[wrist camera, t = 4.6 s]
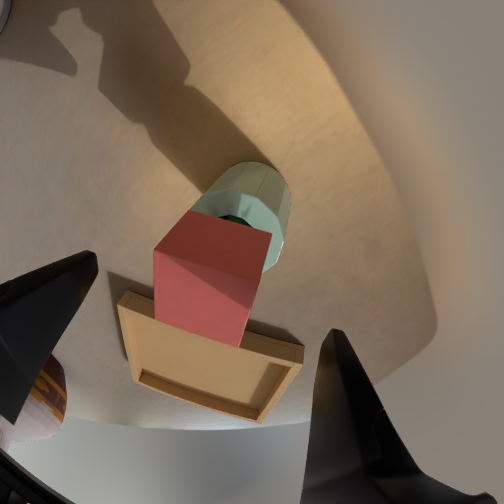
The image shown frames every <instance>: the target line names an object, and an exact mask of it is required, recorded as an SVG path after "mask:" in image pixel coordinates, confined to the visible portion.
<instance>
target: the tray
mask: <svg viewBox="0 0 504 504" xmlns="http://www.w3.org/2000/svg"><path fill="white" fill-rule="evenodd" d="M117 308H118V314H119V319H120V325H121V330H122V335H123V340H124V344H125V349H126V353H127V358H128V362H129V366H130V370H131V374H132V378H133V381H134V382H136V383H138V384H140V385H143V386H145V387H147V388H150V389H152V390H155V391H157V392H160V393H162V394H165V395H168V396H170V397H173V398H176V399H178V400H181V401H184V402H187V403H190V404H193V405H196V406H199V407H202V408H205V409H208V410H211V411H215V412H218V413H221V414H225V415H228V416H232V417H236V418H240V419H243V420H247V421H251V422H256V423H260V424H261V423H262V422H263V420H264V419H265V418H266V416H267V415H268V414H269V412H270V411H271V410H272V408H273V407H274V406H275V404H276V403H277V402H278V400H279V399H280V397H281V396H282V395H283V393H284V392H285V390H286V389H287V387H288V386H289V385H290V383H291V382H292V380H293V379H294V377H295V376H296V374H297V373H298V371H299V370H300V368H301V367H302V365H303V360H304V350H305V346H301V345H297V344H293V343H289V342H285V341H282V340H278V339H274V338H270V337H267V336H263V335H260V334H256V333H253V332H249V331H246V330H244V333H243V336H242V339H241V342H240V346H239V347H238V348H237V347H233V346H230V345H227V344H223V343H220V342H217V341H214V340H211V339H208V338H205V337H202V336H199V335H196V334H193V333H190V332H187V331H184V330H181V329H178V328H175V327H173V326H170V325H167V324H164V323H162V322H159V321H156V320H155V311H154V300H152V299H149V298H147V297H144V296H141V295H139V294H136V293H133V292H131V291H128V290H127V291H126V293H125V294H124V295H123V297H122V298H121V299H120V301H119V302H118V303H117Z"/></svg>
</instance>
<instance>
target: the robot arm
mask: <svg viewBox="0 0 504 504" xmlns="http://www.w3.org/2000/svg"><path fill="white" fill-rule="evenodd" d="M97 275H98V263H97V256H96V254H95V253H94V252H91V251H89V250H85V251H82V252H80V253H77V254H74V255H72V256H69V257H67V258H64V259H61V260H59V261H56V262H54V263H51V264H49V265H46V266H43V267H41V268H38V269H36V270H34V271H31V272H29V273H26V274H24V275H21V276H19V277H17V278H14V279H13V280H10V281H7V282H5V283H3V284H0V415H1V416H2V417H4V418H5V419H6V420H7V421H8V422H10V423H11V424H12V425H13V426H14V424H15V423H16V421H17V418H18V416H19V414H20V412H21V410H22V408H23V406H24V403H25V401H26V399H27V397H28V395H29V393H30V391H31V389H32V387H33V385H34V383H35V381H36V379H37V378H38V376H39V374H40V372H41V370H42V368H43V367H44V365H45V363H46V361H47V359H48V358H49V356H50V354H51V352H52V351H53V349H54V347H55V346H56V344H57V342H58V341H59V339H60V337H61V336H62V334H63V332H64V331H65V329H66V328H67V326H68V324H69V323H70V321H71V320H72V318H73V317H74V315H75V314H76V312H77V311H78V309H79V307H80V306H81V304H82V302H83V301H84V299H85V297H86V295H87V293H88V291H89V289H90V287H91V286H92V284H93V282H94V280H95V279H96V277H97ZM27 503H29V504H75V503H73V502H72V501H70V500H69V499H67V498H65V497H64V496H62V495H61V494H59V493H58V492H56V491H55V490H53V489H52V488H50V487H49V486H47V485H46V484H45V483H43V482H42V481H41V480H39V479H38V478H36V477H35V476H34V475H32V474H31V473H30V472H29V471H27V470H26V469H25V468H24V467H22V466H21V465H20V464H19V463H17V462H16V461H15V460H14V459H13V458H12V457H11V456H9V455H8V454H7V453H6V452H5V451H4V450H3V449H2V448H1V447H0V504H27ZM300 504H497V501H496V500H495V498H494V497H493V496H491V495H490V494H488V493H486V492H484V493H481V494H478V495H468V494H465V493H462V492H460V491H458V490H456V489H454V488H451V487H449V486H447V485H445V484H443V483H441V482H439V481H437V480H435V479H433V478H431V477H429V476H428V475H426V474H425V473H424V472H423V471H421V469H420V468H419V467H418V466H417V464H416V463H415V461H414V459H413V458H412V456H411V455H410V453H409V451H408V450H407V448H406V447H405V445H404V443H403V442H402V440H401V438H400V437H399V435H398V433H397V432H396V430H395V428H394V426H393V425H392V423H391V421H390V419H389V417H388V415H387V413H386V411H385V409H384V407H383V405H382V403H381V401H380V399H379V397H378V395H377V393H376V391H375V389H374V387H373V385H372V384H371V382H370V380H369V378H368V376H367V374H366V372H365V370H364V368H363V366H362V364H361V363H360V361H359V359H358V357H357V355H356V353H355V351H354V350H353V348H352V346H351V344H350V342H349V340H348V338H347V337H346V335H345V333H344V332H343V331H342V330H339V329H335V328H333V329H331V330H330V332H329V333H328V335H327V336H326V338H325V340H324V341H323V343H322V346H321V350H320V356H319V361H318V367H317V372H316V377H315V383H314V391H313V403H312V415H311V425H310V435H309V444H308V453H307V460H306V468H305V475H304V482H303V490H302V494H301V501H300Z"/></svg>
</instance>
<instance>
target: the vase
mask: <svg viewBox="0 0 504 504" xmlns="http://www.w3.org/2000/svg"><path fill="white" fill-rule="evenodd" d="M290 207H291V199H290V191H289V188H288V185H287V183H286V181H285V180H284V178H283V177H282V176H281V175H280V174H279V173H278V172H277V171H276V170H275V169H273V168H272V167H270V166H268V165H266V164H263V163H259V162H252V161H249V162H242V163H238V164H236V165H234V166H232V167H230V168H228V169H227V170H226V171H225V172H224V173H223V174H222V175H221V176H220V177H219V178H218V179H217V180H216V181H215V182H214V183H213V184H212V185H211V186H210V188H209V189H208V190H207V191H206V192H205V193H204V194H203V195H202V196H201V197H200V198H199V199H198V201H197V202H196V203H195V204H194V205H193V206H192V207H191V209H190V210H192V211H196V212H199V213H203V214H207V215H210V216H214V217H217V218H221V219H224V220H226V219H227V217H228V216H229V215H233V216H237V217H241V218H243V219H244V220H245V221H247V222H248V223H249V224H250V225H251V227H252V228H256V229H259V230H263V231H266V232H270V233H272V238H271V242H270V246H269V249H268V253H267V257H266V260H265V264H264V267H263V271H262V273H263V272H265V271H266V270H267V269H269V268H270V267H271V266H273V265H274V264H275V263H276V262H277V261H278V258H279V255H280V252H281V249H282V246H283V243H284V239H285V234H286V228H287V223H288V217H289V212H290Z"/></svg>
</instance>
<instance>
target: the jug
mask: <svg viewBox="0 0 504 504" xmlns="http://www.w3.org/2000/svg"><path fill="white" fill-rule="evenodd" d="M66 403H67V392H66V383H65V375H64V370H63V368H62V366H61V365H60V364H59V362H58V361H57V360H56V359H55V358H54V357H53V356H52V355H51V354H50V356H49V358H48V359H47V361H46V363H45V365H44V367H43V368H42V370H41V372H40V374H39V376H38V378H37V379H36V381H35V383H34V385H33V387H32V389H31V391H30V393H29V395H28V397H27V399H26V401H25V403H24V406H23V408H22V410H21V412H20V414H19V416H18V418H17V421H16V423H15V424H14V426H13V425H12V424H11V423H10V422H8V421H7V420H6V419H5V418H4V417H2V416H1V415H0V447H1V448H2V449H3V450H4V451H5V452H7V450H8V448H9V446H10V444H12V443H13V442H21V441H35V440H45V439H47V438H50V437H52V436H54V435H55V434H56V433H57V432H58V430H59V429H60V427H61V424H62V422H63V419H64V415H65V411H66Z"/></svg>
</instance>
